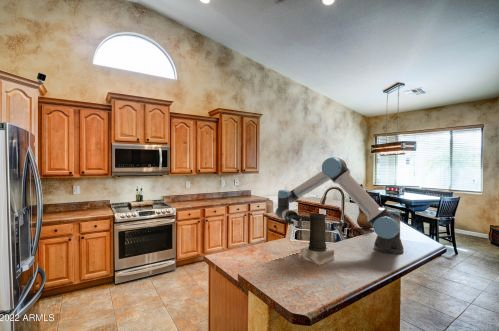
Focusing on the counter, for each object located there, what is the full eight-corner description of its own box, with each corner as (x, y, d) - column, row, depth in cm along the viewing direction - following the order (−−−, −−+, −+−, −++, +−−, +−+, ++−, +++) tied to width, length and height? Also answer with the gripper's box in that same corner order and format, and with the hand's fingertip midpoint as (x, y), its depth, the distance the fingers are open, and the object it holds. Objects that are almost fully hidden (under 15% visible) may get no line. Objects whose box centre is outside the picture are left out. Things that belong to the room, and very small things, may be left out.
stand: (334, 259, 132) (334, 249, 132) (319, 264, 124) (319, 254, 124) (314, 253, 141) (315, 244, 141) (300, 257, 134) (300, 248, 134)
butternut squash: (357, 230, 194) (357, 197, 194) (356, 226, 207) (356, 196, 207) (377, 232, 190) (377, 198, 190) (374, 228, 202) (375, 196, 203)
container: (330, 250, 131) (330, 215, 131) (317, 252, 127) (317, 216, 127) (317, 245, 139) (317, 212, 139) (304, 247, 134) (305, 213, 135)
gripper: (307, 220, 165) (327, 228, 145) (272, 223, 158) (287, 231, 137) (307, 209, 166) (327, 215, 145) (272, 211, 158) (287, 217, 137)
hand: (308, 223), depth 141 cm, fingers open, 13 cm apart
